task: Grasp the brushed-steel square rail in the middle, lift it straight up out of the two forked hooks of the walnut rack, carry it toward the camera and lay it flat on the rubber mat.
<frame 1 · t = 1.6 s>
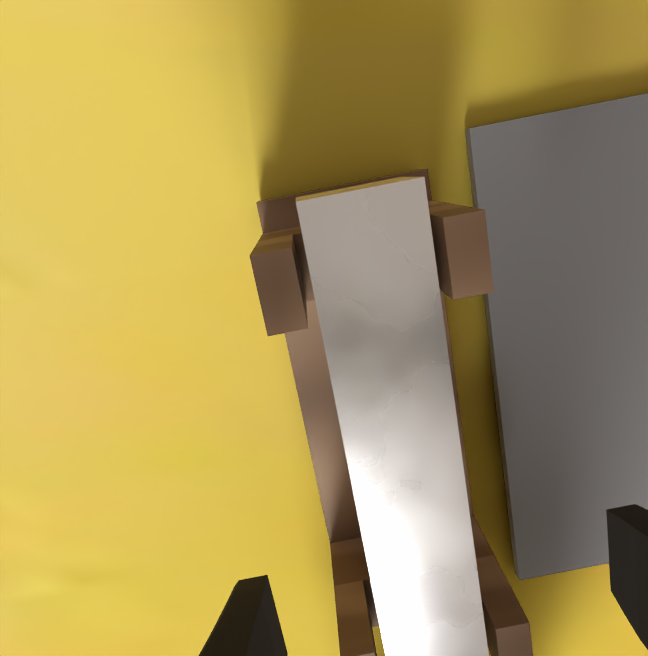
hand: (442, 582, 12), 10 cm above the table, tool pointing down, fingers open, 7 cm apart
rail: (391, 440, 18), point 3 cm above the table, touching rack
mat: (596, 355, 21), on the table
rack: (376, 398, 21), on the table
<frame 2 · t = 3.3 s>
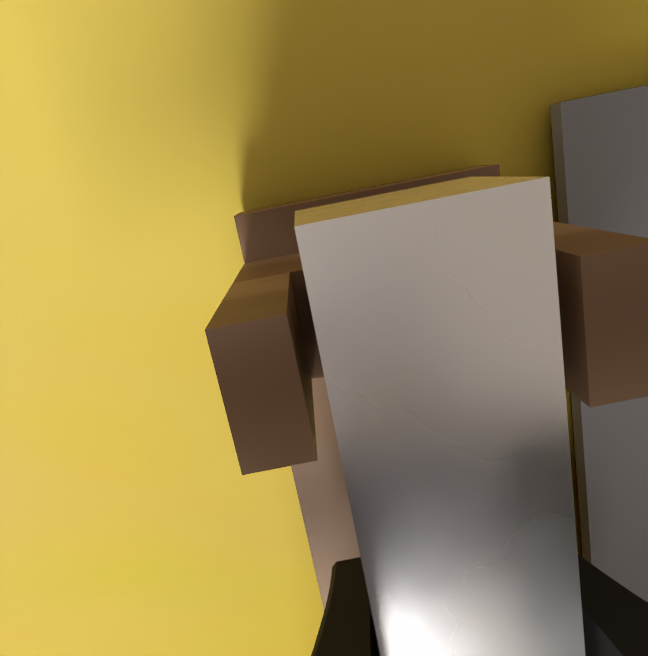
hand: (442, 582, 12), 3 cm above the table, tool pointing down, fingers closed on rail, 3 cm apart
rail: (443, 585, 11), point 3 cm above the table, touching gripper, rack
rack: (410, 492, 15), on the table
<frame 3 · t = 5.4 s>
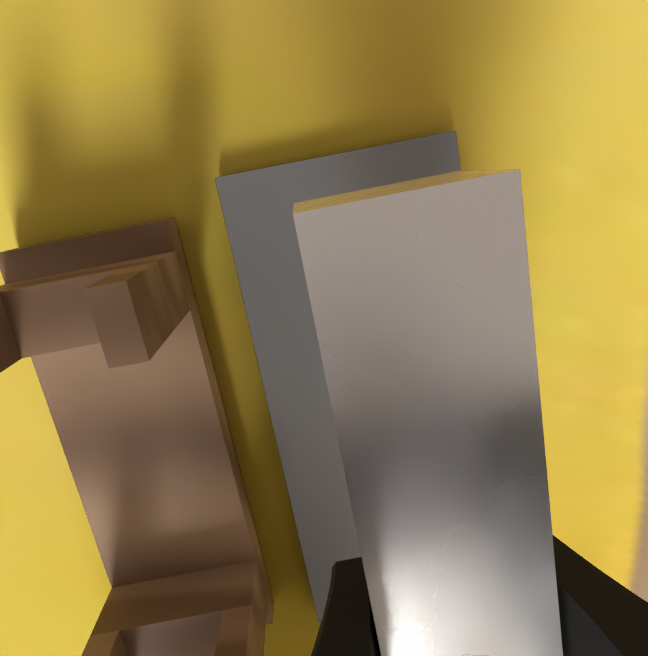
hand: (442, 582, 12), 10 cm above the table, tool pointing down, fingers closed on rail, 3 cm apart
rail: (433, 554, 12), point 9 cm above the table, touching gripper
mat: (377, 399, 21), on the table
rack: (156, 442, 21), on the table
when the fingers open (2 cm above the table, at t = 7.5 s): rail stays where it is, resting on mat.
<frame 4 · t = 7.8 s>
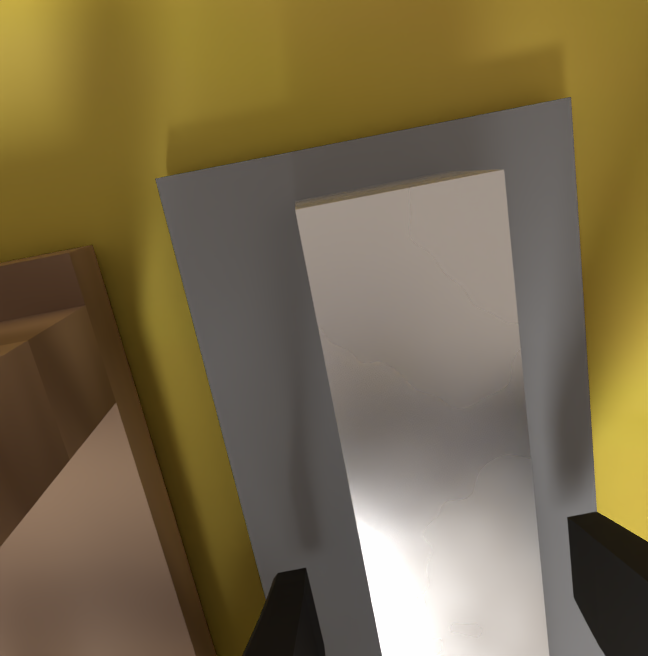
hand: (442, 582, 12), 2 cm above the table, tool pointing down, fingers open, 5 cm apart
rail: (426, 535, 13), resting on mat
mat: (422, 526, 13), on the table
rack: (77, 593, 13), on the table
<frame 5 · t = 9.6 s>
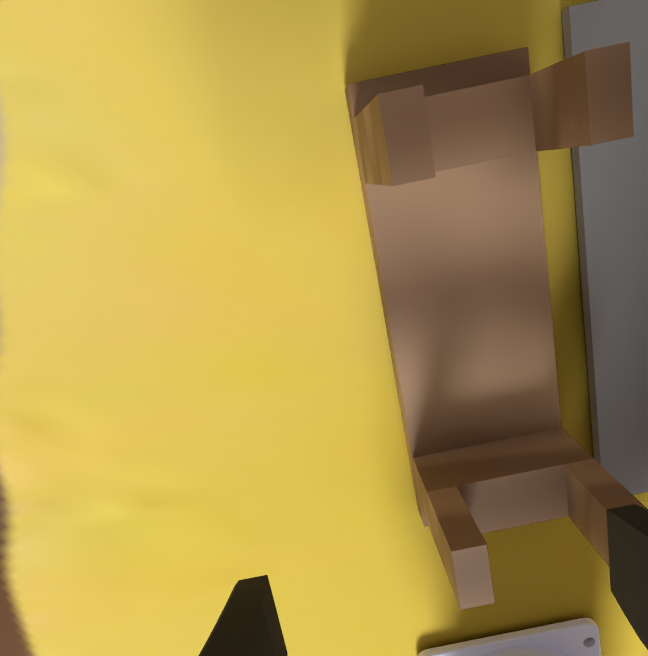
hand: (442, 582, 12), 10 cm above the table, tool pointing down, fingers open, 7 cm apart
rack: (460, 306, 20), on the table
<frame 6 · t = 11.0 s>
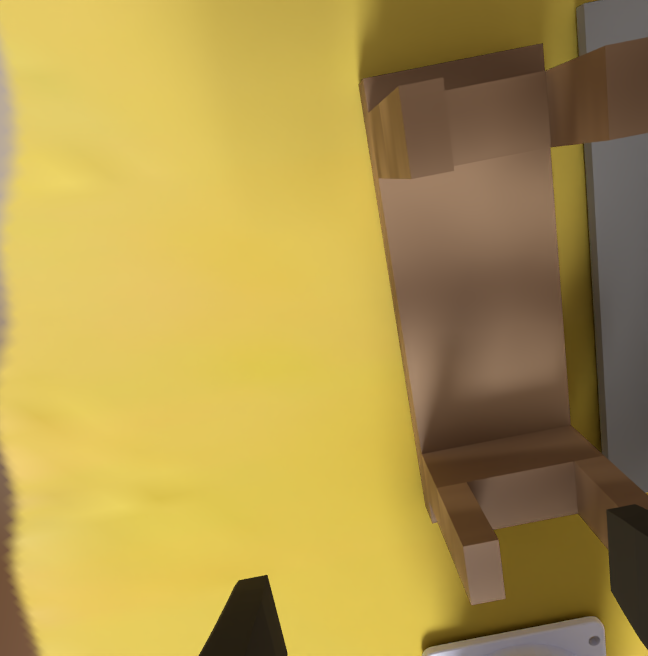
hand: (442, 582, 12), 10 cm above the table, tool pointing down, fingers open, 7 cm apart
rack: (470, 302, 20), on the table
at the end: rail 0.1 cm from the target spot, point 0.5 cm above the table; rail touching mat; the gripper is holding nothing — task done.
